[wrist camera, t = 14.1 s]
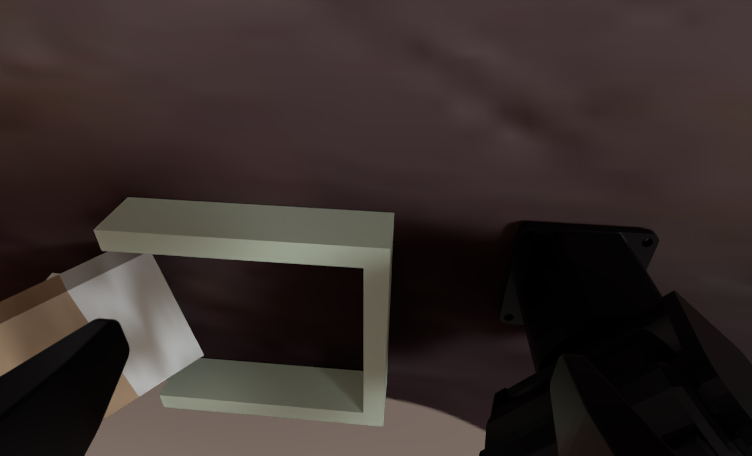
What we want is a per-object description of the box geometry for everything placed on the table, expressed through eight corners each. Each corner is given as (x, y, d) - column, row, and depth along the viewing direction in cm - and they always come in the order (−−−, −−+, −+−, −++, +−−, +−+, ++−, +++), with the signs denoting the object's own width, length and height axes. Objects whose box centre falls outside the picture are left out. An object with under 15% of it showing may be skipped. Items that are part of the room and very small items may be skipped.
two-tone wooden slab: (138, 237, 25) (-103, 350, 20) (150, 250, 24) (-106, 375, 19) (191, 339, 29) (4, 453, 24) (204, 355, 28) (9, 480, 23)
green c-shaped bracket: (127, 197, 24) (93, 229, 21) (394, 212, 23) (390, 248, 20) (184, 368, 31) (163, 407, 29) (386, 384, 30) (383, 426, 28)
